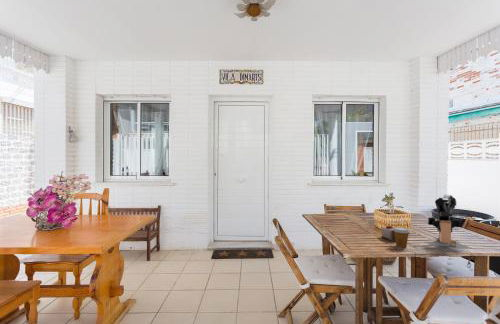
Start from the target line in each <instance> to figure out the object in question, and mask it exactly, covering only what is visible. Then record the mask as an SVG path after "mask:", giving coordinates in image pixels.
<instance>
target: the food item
mask: <svg viewBox="0 0 500 324" xmlns="http://www.w3.org/2000/svg"><path fill="white" fill-rule="evenodd" d="M394 228H395V227H393V225H386V226H385V225H383V226H381V227H380V229H381V230H380V232H381V233H380V235H381V238H384V239H387V240H389V241H391V242H396V239H395V231H394Z"/></svg>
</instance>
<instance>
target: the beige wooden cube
mask: <svg viewBox="0 0 500 324" xmlns="http://www.w3.org/2000/svg"><path fill="white" fill-rule="evenodd" d="M456 243H457V240H456V239H455V238H451V243H450V245H451V246H456Z"/></svg>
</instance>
